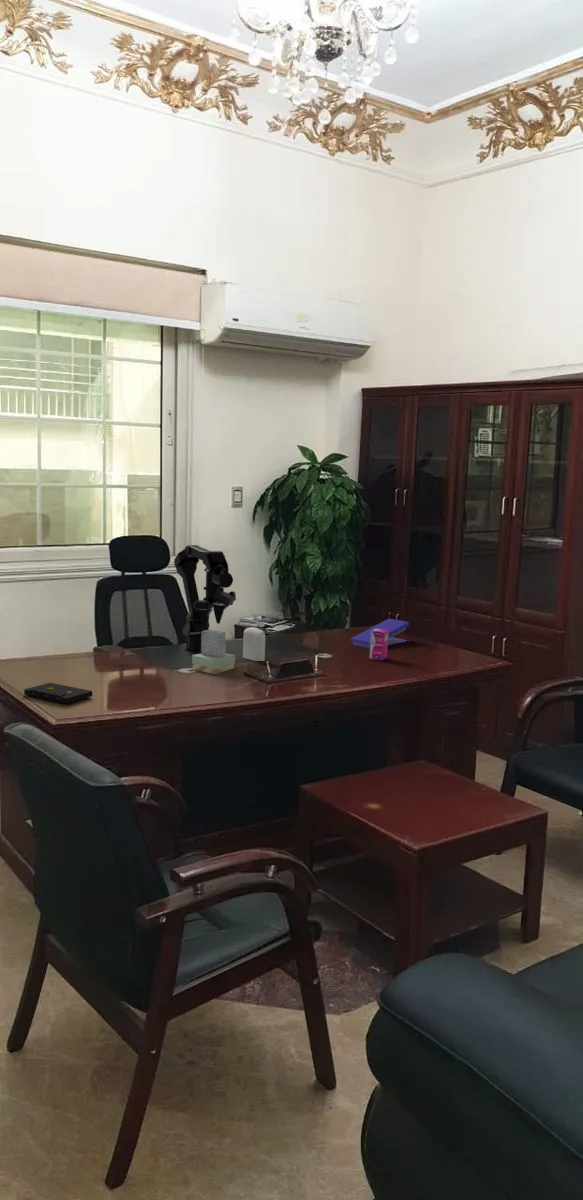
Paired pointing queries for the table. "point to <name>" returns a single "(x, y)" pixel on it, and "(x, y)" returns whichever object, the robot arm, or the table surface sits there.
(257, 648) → the photo printer
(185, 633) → the robot arm
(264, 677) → the table surface
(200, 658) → the tower top block
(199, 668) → the tower base block
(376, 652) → the supplement box
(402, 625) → the stapler
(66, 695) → the cassette tape
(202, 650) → the medicine box
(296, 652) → the table surface
